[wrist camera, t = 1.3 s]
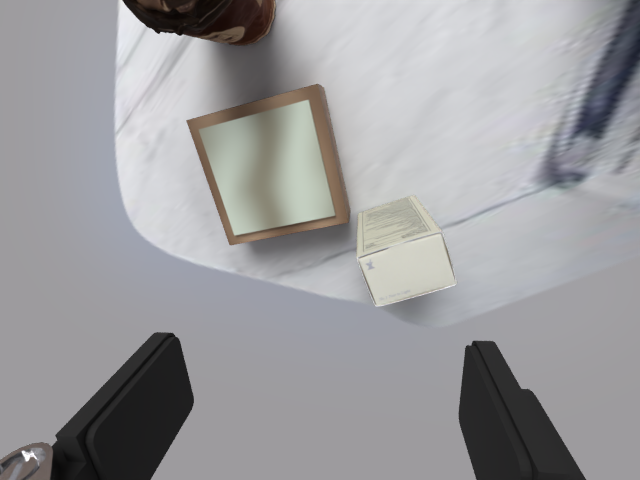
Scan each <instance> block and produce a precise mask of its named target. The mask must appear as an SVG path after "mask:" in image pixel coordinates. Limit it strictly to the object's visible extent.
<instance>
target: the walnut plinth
mask: <svg viewBox="0 0 640 480" xmlns="http://www.w3.org/2000/svg"><path fill="white" fill-rule="evenodd" d="M186 121H187V124H188V126H189V129H190V132H191V135H192V138H193V141H194V144H195V147H196V149H197V152H198V155H199V158H200V161H201V164H202V167H203V170H204V173H205V175H206V178H207V181H208V184H209V187H210V190H211V193H212V196H213V198H214V201H215V204H216V207H217V210H218V213H219V216H220V219H221V222H222V224H223V227H224V230H225V233H226V236H227V239H228V242H229V245H234V244H240V243H245V242H250V241H255V240H260V239H266V238H271V237H276V236H281V235H286V234H292V233H297V232H302V231H307V230H312V229H318V228H323V227H328V226H333V225H338V224H344V223H349V216H350V207H349V202H348V197H347V193H346V188H345V184H344V179H343V174H342V170H341V165H340V161H339V156H338V151H337V147H336V142H335V138H334V133H333V128H332V124H331V119H330V114H329V110H328V105H327V101H326V96H325V91H324V87H322V86H321V85H319V84H315V85H311V86H308V87H304V88H301V89H297V90H294V91H290V92H286V93H283V94H279V95H276V96H272V97H269V98H265V99H261V100H258V101H254V102H251V103H247V104H244V105H240V106H236V107H233V108H229V109H226V110H222V111H218V112H215V113H211V114H208V115H204V116H201V117H197V118H193V119H190V120H186Z"/></svg>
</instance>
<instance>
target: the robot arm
mask: <svg viewBox="0 0 640 480" xmlns="http://www.w3.org/2000/svg"><path fill="white" fill-rule="evenodd" d="M193 403H194V397H193V393H192V389H191V385H190V381H189V376H188V372H187V368H186V364H185V360H184V356H183V352H182V348H181V344H180V341H179V339H178V338H177V337H175V335H174V334H173V333H158V332H157V333H154V334H153V335H152V336H151V337H150V338H149V339H148V340H147V341H146V342H145V343H144V344H143V345H142V346H141V347H140V348H139V349H138V350H137V351H136V352H135V353H134V354H133V355H132V356H131V357H130V358H129V360H127V361H126V362H125V364H124V365H123V366H122V367H121V368H120V369H119V370H118V371H117V372H116V373H115V374H114V375H113V376H112V377H111V378H110V379H109V380H108V381H107V382H106V383H105V385H103V387H101V388H100V390H98V392H97V393H96V394H95V395H94V396H93V397H92V398H91V399H90V400H89V401H88V402H87V403H86V404H85V405H84V406H83V407H82V408H81V409H80V410H79V411H78V412H77V413H76V414H75V415H74V416H73V418H71V420H70V421H69V422H68V423H67V424H66V425H65V426H64V427H63V428H62V429H61V430H60V431H59V432H58V433H57V434H56V438H57V441H56V443H55V444H54V445H53V446H50V445H49V444H48V443H43V442H40V443H32V444H29V445H27V446H24V447H21V448H19V449H17V450H15V451H13V452H11V453H10V454H8V455H7V456H5V457H4V458H2V459H1V460H0V480H151V478H152V476H153V474H154V473H155V471H156V469H157V468H158V466H159V464H160V463H161V461H162V459H163V457H164V456H165V454H166V452H167V451H168V449H169V447H170V445H171V444H172V442H173V440H174V439H175V437H176V435H177V434H178V432H179V430H180V428H181V427H182V425H183V423H184V422H185V420H186V418H187V417H188V415H189V413H190V411H191V410H192V407H193ZM459 422H460V426H461V430H462V433H463V436H464V440H465V443H466V446H467V450H468V453H469V456H470V459H471V463H472V466H473V469H474V473H475V476H476V479H477V480H586V479H585V477H584V476H583V474H582V472H581V471H580V469H579V467H578V466H577V464H576V462H575V461H574V459H573V457H572V456H571V454H570V452H569V451H568V449H567V447H566V446H565V444H564V442H563V441H562V439H561V437H560V436H559V434H558V432H557V431H556V429H555V427H554V426H553V424H552V422H551V421H550V419H549V417H548V416H547V414H546V412H545V411H544V409H543V408H542V406H541V404H540V402H539V401H538V399H537V397H536V396H535V395H534V393H533V392H532V391H530V390H529V389H521V388H520V386H519V384H518V382H517V380H516V379H515V377H514V375H513V374H512V372H511V370H510V368H509V366H508V365H507V363H506V361H505V359H504V358H503V356H502V354H501V352H500V350H499V349H498V347H497V345H496V344H495V342H493V341H473V342H472V346H469V345H467V346H466V348H465V357H464V367H463V376H462V386H461V396H460V405H459Z"/></svg>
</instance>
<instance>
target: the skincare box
mask: <svg viewBox="0 0 640 480" xmlns="http://www.w3.org/2000/svg"><path fill="white" fill-rule="evenodd" d="M356 259H357V262H358V265H359V268H360V270H361V273H362V276H363V278H364V281H365V284H366V286H367V289H368V291H369V294H370V296H371V299H372V301H373V303H374V305H375V306H376V307H379V306H383V305H387V304H392V303H395V302H399V301H403V300H407V299H411V298H414V297H417V296H422V295H425V294H428V293H432V292H435V291H438V290H442V289H445V288H449V287H452V286H455V285H457V281H456V277H455V273H454V269H453V265H452V261H451V257H450V253H449V250H448V246H447V243H446V239H445V236H444V233H443V232H442V231H441V229H440V228H439V227H438V225H437V224H436V223H435V221H434V220H433V219H432V217H431V216H430V215H429V213H428V212H427V211H426V209H425V208H424V207H423V205H422V204H421V203H420V201H419V200H418V199H417V197H416V196H414V195H413V196H409V197H406V198H403V199H400V200H396V201H393V202H390V203H387V204H384V205H381V206H378V207H375V208H372V209H370V210H367V211H364V212H361V213H359V214H358V224H357V252H356Z"/></svg>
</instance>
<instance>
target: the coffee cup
mask: <svg viewBox="0 0 640 480" xmlns="http://www.w3.org/2000/svg"><path fill="white" fill-rule="evenodd" d="M123 2H124V3H125V5H126V6H127V7H128V8H129V9H130V10H131V11H132V13H133V14H134V15H135V16H136V17H137V18H138V19H139V20H140V21H141V22H142V23H144V24H145V25H146V26H147V27H149V28H152V29H153V30H154V31H155V32H156V33H158V34H160V32H165V33H167V32H168V33H176V34H178V35H179V36H181V35H183V34H184V35H188V36H192V37H197V38H201V39H206V40H210V41H215V42H219V43H228V44H230V45H243V46H244V45H248V44H253V43H256V42H258V40H260V39H261V38H262V37H264V36H266V35H267V34H268V33H269V30H270V27H271V23H272V21H273V20H274V17H275V15H274V10H275V7H276V4H275V0H123Z"/></svg>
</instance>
